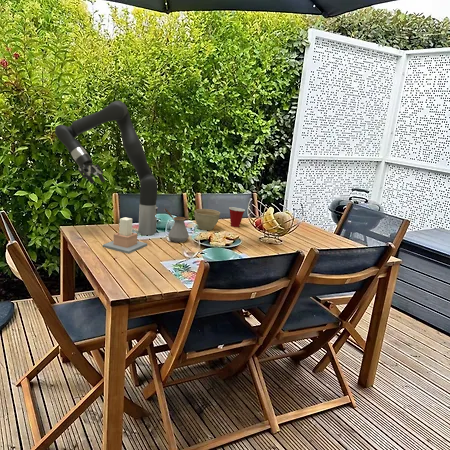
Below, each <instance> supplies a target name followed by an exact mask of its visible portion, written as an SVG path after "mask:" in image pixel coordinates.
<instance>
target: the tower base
mask: <svg viewBox="0 0 450 450" xmlns="http://www.w3.org/2000/svg"><path fill="white" fill-rule="evenodd" d="M138 234H139V233H136V232H133V231H132V235H130V236H122V235H119V231H118V232H116V233H113V240H112V241H110V242H106V243H104V244H103V243H102V248H104V247H105V249H109V250H111V251H112V250H113V251H117V252H120V253H125V254H129V255H130V254H131V253H133V252H136V251H138V250H140V249H143V248H145V247H147V246H148V243H147V242H143V241H140V240H138Z"/></svg>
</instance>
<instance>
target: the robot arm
mask: <svg viewBox="0 0 450 450" xmlns="http://www.w3.org/2000/svg"><path fill="white" fill-rule="evenodd" d="M112 121H114V122H115V121H116V124H117V125H118V127H119V130H120V136H121V142H122V145H123V148H124V150H125V152H126V155H127V158H128V159H129V161H130V163H131V164H132V166H133V167H134V169H135V171H136V174H137V177H138V181H139V185H140V187H139V188H140V191H139V206H138V208H139V209H138V211H139V213H138V233H137V234H139V235H143V236H152V235H155V234H157V221H158V220H157V214H156V207H157V199H158V197H157V196H158V182H157V179H156V177H155V176H154V174H153V173H152V170H151V169H150V166H149V164H148V161H147V157H146V153H145V150H144V148H143V145H142V142H141V141H140V138H139V136H138V134H137V131H136V129H135V127H134V125H133V123H132V119H131V116H130V112H129V109H128V107H127V105H126V104H125V102H123V101H122V100H115V101H113V102H110V103H109V104H108V105H107V106H105V107H104V108H102V109H100V110H99V111H96V112H94V113H92V114H89V115H86V116H83V117H81V118H79V119H75V120H74V121H73V122H72V123H71V125H70V126H66V125H64V124H59V125H57V126H56V127H55V129H54V134H55V137H56V138H57V139H58V141H60V142H61V143H62V144H63V145H64V146H65V147H66V149H67V151H68V152H69V154H70V155H71V158H73V160H74V161H75V163H76V164H77V165H78V168H77V170H78V173H79V174H80V175H81V177H82V178H83V179H87V180H88V182H89V183H90V184H91V185H93V184H95V183H96V181H95V180H94V178H93V177H92V175H94V176H97V177H98V179H99V180H100V182H101V183H105V181H106V178H105V177H104V176H103V174H104V171H103V169H102V168H101V166H99V164H98V163H97V164H93V159H92V158H91V156H90V155H89V153H88V152H87V151H86V149H85V148H84V147H83V146H82V144H81V143H80V141H78V139H77V138H76V137H79V135H81V134H83V133H86V132H88V131H90V130H91V129H94V128H96V127H98V126H101V125H102V124H105V123H109V122H112ZM155 215H156V217H155Z"/></svg>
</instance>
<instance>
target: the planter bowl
mask: <svg viewBox="0 0 450 450" xmlns="http://www.w3.org/2000/svg"><path fill="white" fill-rule="evenodd" d="M193 213H194V220H195V223H196V224H197V226H198V227H197V228H198V229H200V230H203V231H212V230H214V229H215V227H216V225H217V224H218V223H219V219H220V216H221V212H220V211H218V210H216V209H210V208H198V209H195V210H194V212H193Z"/></svg>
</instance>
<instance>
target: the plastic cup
mask: <svg viewBox="0 0 450 450" xmlns="http://www.w3.org/2000/svg"><path fill="white" fill-rule="evenodd" d="M228 209H229V217H230V226H231V227H233V228H239V227H240V226H241V222H242V220H243V216H244V213H245V212H246V209H244V208H240V207H233V206H231V207H230V206H229V207H228Z"/></svg>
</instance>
